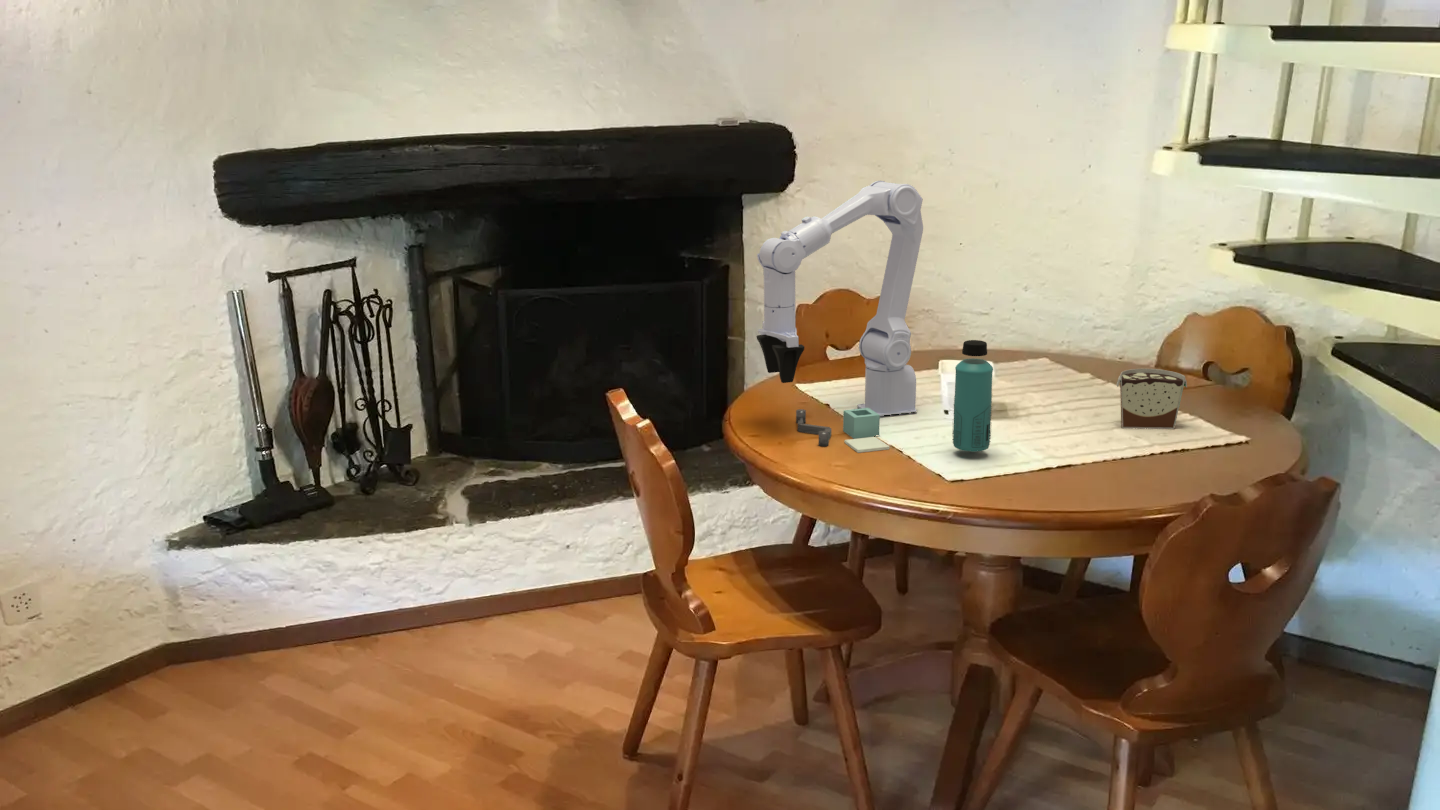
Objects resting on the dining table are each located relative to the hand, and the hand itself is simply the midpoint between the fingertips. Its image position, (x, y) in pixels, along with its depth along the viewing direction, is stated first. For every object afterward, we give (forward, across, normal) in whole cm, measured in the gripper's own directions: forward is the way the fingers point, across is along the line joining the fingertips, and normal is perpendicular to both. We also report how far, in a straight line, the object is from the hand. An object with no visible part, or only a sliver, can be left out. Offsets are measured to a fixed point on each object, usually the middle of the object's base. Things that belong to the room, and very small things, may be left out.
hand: (780, 377), depth 206 cm
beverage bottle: (+10, +25, +26) cm, 38 cm away
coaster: (+10, +16, +11) cm, 21 cm away
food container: (+10, +20, +65) cm, 69 cm away
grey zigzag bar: (+10, +6, +5) cm, 12 cm away
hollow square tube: (+10, +8, +13) cm, 18 cm away
